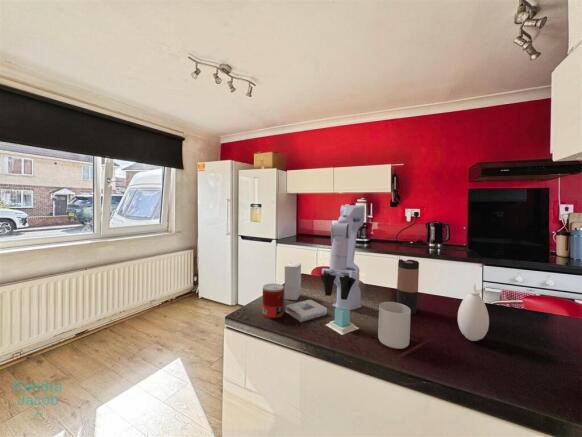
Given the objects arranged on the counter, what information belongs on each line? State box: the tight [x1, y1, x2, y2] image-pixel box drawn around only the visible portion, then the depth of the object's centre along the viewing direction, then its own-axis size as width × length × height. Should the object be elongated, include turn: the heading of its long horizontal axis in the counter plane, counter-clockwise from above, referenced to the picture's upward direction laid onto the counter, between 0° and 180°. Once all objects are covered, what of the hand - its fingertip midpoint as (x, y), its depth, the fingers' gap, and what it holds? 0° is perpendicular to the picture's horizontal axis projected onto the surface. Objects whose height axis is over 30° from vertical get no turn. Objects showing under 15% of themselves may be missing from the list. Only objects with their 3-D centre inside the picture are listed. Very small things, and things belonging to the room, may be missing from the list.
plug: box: [334, 306, 351, 328], centre depth 86 cm, size 4×4×6 cm
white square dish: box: [324, 319, 360, 336], centre depth 86 cm, size 8×8×2 cm
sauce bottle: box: [457, 283, 490, 342], centre depth 79 cm, size 8×8×18 cm
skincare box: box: [284, 262, 302, 301], centre depth 114 cm, size 8×6×15 cm
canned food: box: [262, 283, 285, 319], centre depth 95 cm, size 8×8×11 cm
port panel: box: [285, 299, 328, 323], centre depth 96 cm, size 12×10×3 cm
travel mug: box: [396, 259, 420, 315], centre depth 101 cm, size 8×8×20 cm
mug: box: [377, 301, 412, 350], centre depth 78 cm, size 12×9×11 cm
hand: (335, 297), depth 85 cm, fingers open, 7 cm apart
